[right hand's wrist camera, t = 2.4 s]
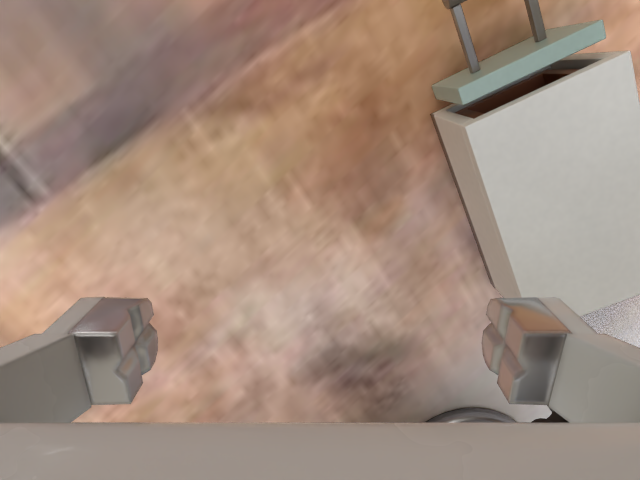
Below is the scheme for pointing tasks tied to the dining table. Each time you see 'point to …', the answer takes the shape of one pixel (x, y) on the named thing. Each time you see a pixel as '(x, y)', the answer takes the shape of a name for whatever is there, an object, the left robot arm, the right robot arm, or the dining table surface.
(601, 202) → the white open box
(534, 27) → the drawer
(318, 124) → the dining table surface
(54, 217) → the dining table surface
